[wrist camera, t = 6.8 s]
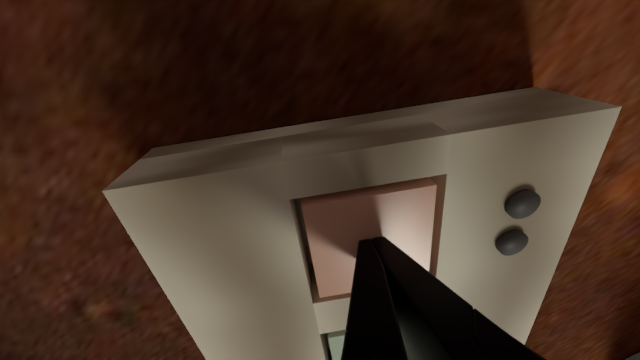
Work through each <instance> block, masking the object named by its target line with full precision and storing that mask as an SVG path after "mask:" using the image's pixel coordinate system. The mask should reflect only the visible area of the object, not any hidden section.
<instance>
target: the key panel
mask: <svg viewBox="0 0 640 360" xmlns="http://www.w3.org/2000/svg"><path fill="white" fill-rule="evenodd" d="M620 110H621V106H616V105H612V104H607V103H603V102H599V101H594V100H590V99H585V98H581V97H577V96H572V95H568V94H563V93H559V92H555V91H550V90H546V89H541V88H537V87H531V88H525V89H519V90H512V91H506V92H500V93H494V94H487V95H481V96H475V97H469V98H462V99H456V100H450V101H444V102H437V103H431V104H425V105H419V106H412V107H406V108H400V109H394V110H387V111H381V112H375V113H369V114H362V115H356V116H350V117H344V118H337V119H331V120H325V121H318V122H312V123H306V124H300V125H293V126H287V127H281V128H275V129H268V130H262V131H256V132H250V133H243V134H237V135H231V136H225V137H218V138H212V139H206V140H200V141H193V142H187V143H181V144H175V145H168V146H162V147H156V148H152V149H151V150H150V151H149V152H148V153H146V154H145V155H144V156H143V157H142V158H140V159H139V160H138V161H137V162H136V163H135V164H133V165H132V166H131V167H130V168H129V169H128V170H126V171H125V172H124V173H123V174H122V175H120V176H119V177H118V178H117V179H116V180H115V181H113V182H112V183H111V184H110V185H109V186H107V187H106V188H105V189H104V190H103V191H102V192H103V193H104V195H105V197H106V198H107V200H108V202H109V203H110V205H111V206H112V208H113V210H114V211H115V213H116V215H117V216H118V218H119V219H120V221H121V223H122V224H123V226H124V227H125V229H126V231H127V232H128V234H129V236H130V237H131V239H132V240H133V242H134V244H135V245H136V247H137V249H138V250H139V252H140V253H141V255H142V257H143V258H144V260H145V261H146V263H147V265H148V266H149V268H150V270H151V271H152V273H153V274H154V276H155V278H156V279H157V281H158V283H159V284H160V286H161V287H162V289H163V291H164V292H165V294H166V295H167V297H168V299H169V300H170V302H171V304H172V305H173V307H174V308H175V310H176V312H177V313H178V315H179V317H180V318H181V320H182V321H183V323H184V325H185V326H186V328H187V329H188V331H189V333H190V334H191V336H192V338H193V339H194V341H195V342H196V344H197V346H198V347H199V349H200V351H201V352H202V354H203V355H204V357H205V359H206V360H332V355H331V350H330V345H329V341H328V334H327V333H329V332H335V331H341V330H346V324H347V317H348V310H349V303H350V296H351V293H345V294H339V295H334V296H328V297H322V298H320V296H319V291H318V286H317V281H316V277H315V272H314V267H313V262H312V257H311V252H310V247H309V242H308V237H307V232H306V227H305V222H304V217H303V212H302V208H301V198H303V197H309V196H316V195H322V194H328V193H334V192H340V191H346V190H352V189H358V188H364V187H370V186H376V185H382V184H388V183H394V182H400V181H406V180H413V179H419V178H425V177H430V178H431V179H432V180H433V182H434V183H435V184H436V185H437V189H436V200H435V211H434V223H433V234H432V245H431V256H430V268H429V272H430V273H431V274H432V275H434V276H435V277H436V278H437V279H439V280H440V281H441V282H442V283H444V284H445V285H446V286H448V287H449V288H450V289H451V290H453V291H454V292H455V293H456V294H458V295H459V296H460V297H461V298H463V299H464V300H465V301H467V302H468V303H469V304H470V305H472V306H473V309H474V308H475V309H477V310H478V311H479V312H481V313H482V314H483V315H484V316H486V317H487V318H488V319H490V320H491V321H492V322H494V323H495V324H496V325H497V326H499V327H500V328H501V329H503V330H504V331H505V332H507V333H508V334H509V335H511V336H512V337H514V338H515V339H517V340H518V341H520V342H521V343H522V344H524V345H525V343H526V340H527V338H528V335H529V333H530V330H531V328H532V325H533V323H534V321H535V318H536V316H537V313H538V311H539V308H540V306H541V303H542V301H543V298H544V296H545V294H546V291H547V289H548V286H549V284H550V281H551V279H552V276H553V274H554V272H555V269H556V267H557V264H558V262H559V259H560V257H561V254H562V252H563V249H564V247H565V245H566V242H567V240H568V237H569V235H570V232H571V230H572V227H573V225H574V222H575V220H576V218H577V215H578V213H579V210H580V208H581V205H582V203H583V200H584V198H585V196H586V193H587V191H588V188H589V186H590V183H591V181H592V178H593V176H594V173H595V171H596V169H597V166H598V164H599V161H600V159H601V156H602V154H603V151H604V149H605V147H606V144H607V142H608V139H609V137H610V134H611V132H612V129H613V127H614V124H615V122H616V120H617V117H618V115H619V112H620Z"/></svg>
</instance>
